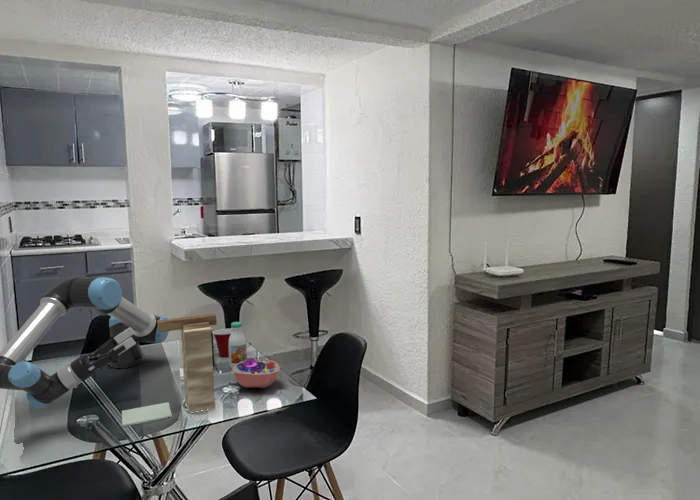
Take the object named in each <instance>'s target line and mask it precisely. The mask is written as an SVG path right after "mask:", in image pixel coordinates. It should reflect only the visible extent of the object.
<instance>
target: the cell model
mask: <svg viewBox="0 0 700 500" xmlns="http://www.w3.org/2000/svg"><path fill="white" fill-rule="evenodd" d="M280 369H281V367H280V365H279V363H278V362H275V361H274V360H271V359H255V358H253V357H247V359H246V360H245V361H241V362H239V363H237V364H236V365H234V366H233V369H231V370H232V372H233V375H234V377H235V380H236V381H237V382H238V384H239V385H240V386H242V387H244V388H248V389H249V388H250V389H251V388H259V389H266V388H268V387H270V386H271V385H272V384H274V383H275V382H276V380H277V378H278V375H279V373H280V371H281V370H280Z"/></svg>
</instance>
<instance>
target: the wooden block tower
mask: <svg viewBox="0 0 700 500" xmlns="http://www.w3.org/2000/svg"><path fill="white" fill-rule="evenodd" d="M210 327H211V326H209V322H203V323H196V324H188V325H183V329H181V330H180V339H181V342H180V343H181V355H182V371H183V384H184V386H183V387H184V388H183V389H184V399H185V403H186V407H187V410H188V413H189V412H190V413H189V414H192V413H191V412H195V413H197V412H196V411H200V412H202V411H201V410H205V411H208V410H207V409H210V410H215V409H216V397H215V396H216V395H215V382H214V381H215V380H214V368H213V359H212V341H211V328H212V327H211V328H210Z"/></svg>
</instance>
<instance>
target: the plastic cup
mask: <svg viewBox="0 0 700 500" xmlns="http://www.w3.org/2000/svg"><path fill="white" fill-rule="evenodd" d="M231 332H232V328H222V329H217V330H214V331H212V333H213V337H214V339H215V343H216V347H217V351H218V353H219V356H220V357H222V358H227V357H228V358H229V337H230V335H231Z"/></svg>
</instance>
